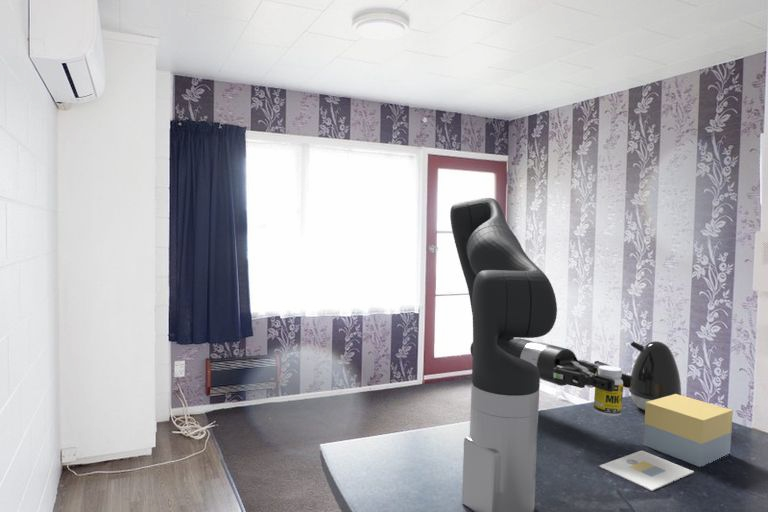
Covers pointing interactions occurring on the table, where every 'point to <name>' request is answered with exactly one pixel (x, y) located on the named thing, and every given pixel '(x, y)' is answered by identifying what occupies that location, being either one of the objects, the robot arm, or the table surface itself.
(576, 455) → the table surface
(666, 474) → the page
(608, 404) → the supplement bottle
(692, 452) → the yellow and grey block
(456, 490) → the table surface
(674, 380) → the pump dispenser
